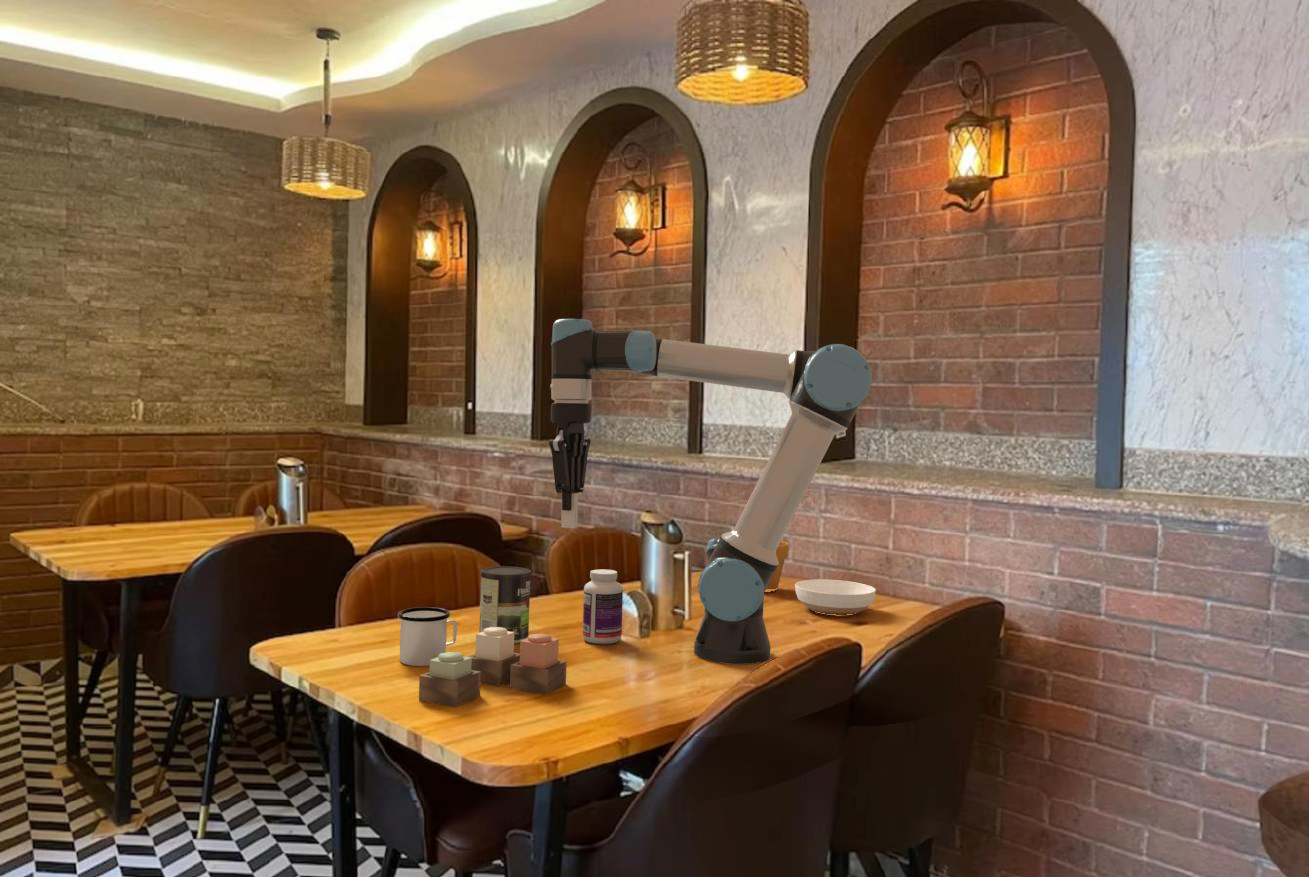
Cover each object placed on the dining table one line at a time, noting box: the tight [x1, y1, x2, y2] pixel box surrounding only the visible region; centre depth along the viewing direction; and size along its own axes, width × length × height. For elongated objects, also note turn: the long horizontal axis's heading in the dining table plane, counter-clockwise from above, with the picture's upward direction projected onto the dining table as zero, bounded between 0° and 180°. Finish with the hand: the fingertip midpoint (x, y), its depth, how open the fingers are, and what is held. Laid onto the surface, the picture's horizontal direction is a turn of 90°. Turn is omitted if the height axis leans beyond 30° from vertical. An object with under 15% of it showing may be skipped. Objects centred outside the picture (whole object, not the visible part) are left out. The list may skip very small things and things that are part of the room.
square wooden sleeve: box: [468, 652, 520, 687], centre depth 170 cm, size 7×7×4 cm
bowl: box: [794, 578, 877, 615], centre depth 238 cm, size 20×20×6 cm
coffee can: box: [478, 565, 532, 645], centre depth 199 cm, size 10×10×14 cm
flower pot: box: [766, 540, 790, 589], centre depth 262 cm, size 14×14×13 cm
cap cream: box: [474, 627, 515, 662], centre depth 170 cm, size 5×5×7 cm
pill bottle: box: [582, 568, 624, 645], centre depth 200 cm, size 8×8×14 cm
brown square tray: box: [418, 670, 481, 708], centre depth 158 cm, size 7×7×4 cm
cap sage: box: [428, 651, 472, 680], centre depth 158 cm, size 5×5×7 cm
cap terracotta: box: [519, 633, 560, 669], centre depth 167 cm, size 5×5×7 cm
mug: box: [397, 606, 458, 667], centre depth 181 cm, size 12×10×9 cm
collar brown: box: [509, 659, 567, 696], centre depth 167 cm, size 7×7×4 cm
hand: (569, 527), depth 182 cm, fingers closed
